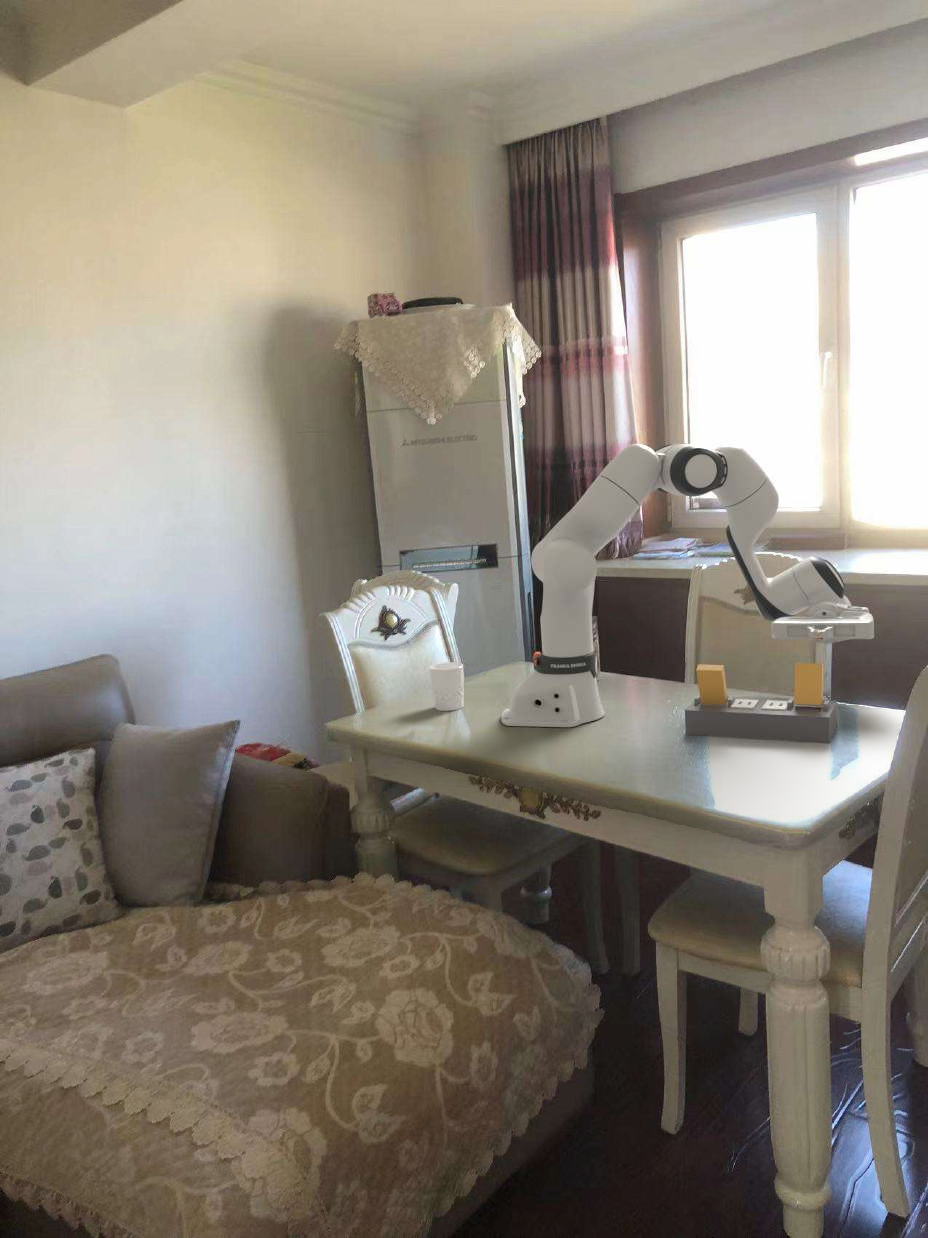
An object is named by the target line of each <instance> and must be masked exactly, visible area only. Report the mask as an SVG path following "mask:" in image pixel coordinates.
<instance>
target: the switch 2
mask: <svg viewBox="0 0 928 1238" xmlns="http://www.w3.org/2000/svg"><path fill="white" fill-rule="evenodd" d="M794 666H795V667H794V689H793V691H794V692H793V693H794V694H793V695H794V696H793V699H794V704H795V705H808V706H823V700H824V677H825V676H824V674H825V673H824V672H825V671H824V670H825V669H824V664H823V663H812V662H811V663H810V662H795V663H794Z"/></svg>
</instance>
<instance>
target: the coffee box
mask: <svg viewBox="0 0 928 1238" xmlns="http://www.w3.org/2000/svg"><path fill="white" fill-rule="evenodd" d="M592 632H593V650H594V651H595V652H596V657H597V676H596V681H598V680H599V679H600V680H601V664H600V663H601V662H600V661H601V660H600V644H599V630H598V616H597V615H592ZM600 680H599V681H600ZM599 681H598V682H599Z"/></svg>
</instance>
